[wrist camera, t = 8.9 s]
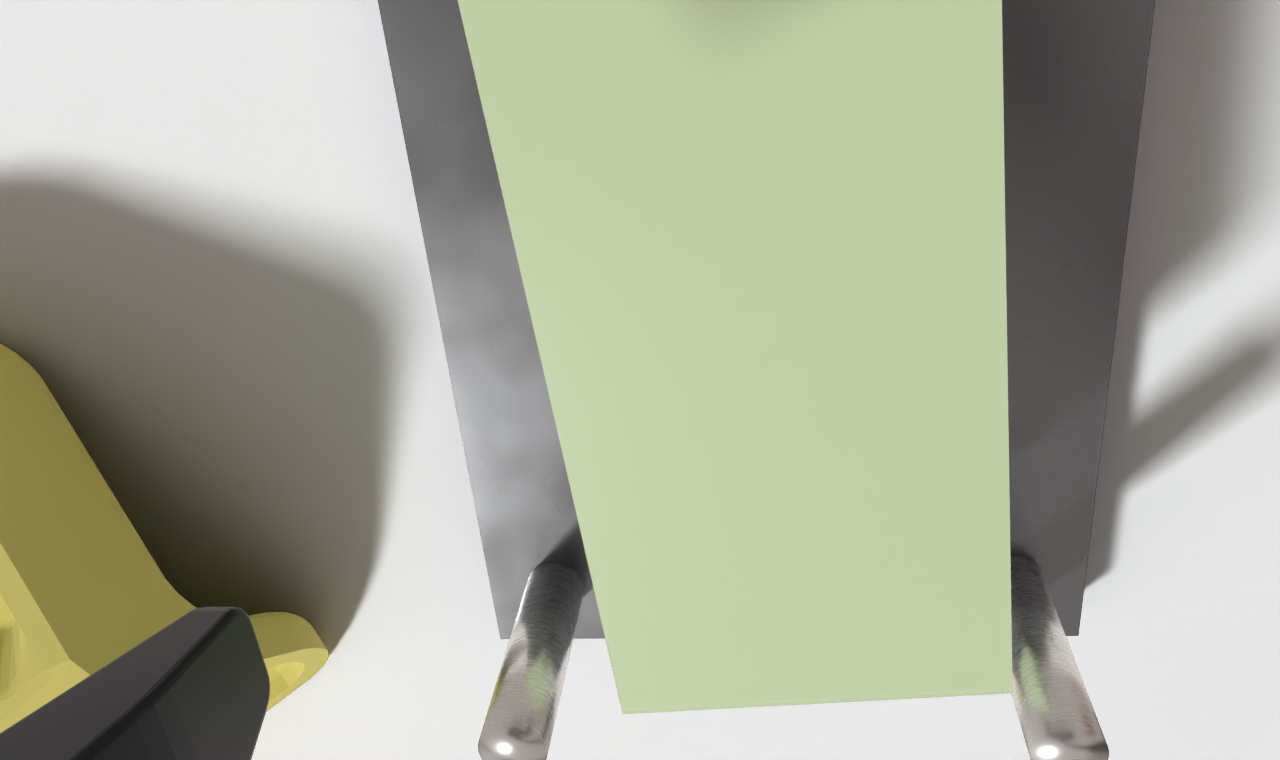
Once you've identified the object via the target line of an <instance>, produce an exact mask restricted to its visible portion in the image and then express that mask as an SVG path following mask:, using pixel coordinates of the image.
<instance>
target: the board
mask: <svg viewBox="0 0 1280 760" xmlns="http://www.w3.org/2000/svg"><path fill="white" fill-rule="evenodd" d="M458 4H459V9H460V13H461V17H462V22H463V26H464V30H465V35H466V39H467V43H468V48H469V52H470V56H471V61H472V65H473V69H474V73H475V78H476V82H477V86H478V91H479V95H480V99H481V104H482V108H483V112H484V117H485V121H486V125H487V130H488V134H489V138H490V143H491V147H492V151H493V156H494V160H495V164H496V169H497V173H498V177H499V182H500V186H501V190H502V194H503V199H504V203H505V207H506V212H507V216H508V220H509V225H510V229H511V233H512V238H513V242H514V246H515V251H516V255H517V259H518V264H519V268H520V272H521V277H522V281H523V285H524V290H525V294H526V298H527V303H528V307H529V311H530V315H531V320H532V324H533V328H534V333H535V337H536V341H537V346H538V350H539V354H540V359H541V363H542V367H543V372H544V376H545V380H546V385H547V389H548V393H549V398H550V402H551V406H552V411H553V415H554V419H555V424H556V428H557V432H558V437H559V441H560V445H561V449H562V454H563V458H564V462H565V467H566V471H567V475H568V480H569V484H570V488H571V493H572V497H573V501H574V506H575V510H576V514H577V519H578V523H579V527H580V532H581V536H582V540H583V545H584V549H585V553H586V558H587V562H588V566H589V570H590V575H591V579H592V583H593V588H594V592H595V596H596V601H597V605H598V609H599V614H600V618H601V622H602V627H603V631H604V635H605V640H606V644H607V648H608V653H609V657H610V661H611V666H612V670H613V674H614V679H615V683H616V687H617V691H618V696H619V700H620V704H621V709H622V713H623V714H632V713H651V712H670V711H688V710H707V709H725V708H744V707H763V706H781V705H800V704H818V703H837V702H855V701H874V700H893V699H911V698H930V697H948V696H967V695H985V694H1004V693H1013V684H1012V620H1011V555H1010V491H1009V426H1008V361H1007V297H1006V232H1005V168H1004V103H1003V39H1002V0H458Z"/></svg>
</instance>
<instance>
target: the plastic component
mask: <svg viewBox="0 0 1280 760" xmlns="http://www.w3.org/2000/svg"><path fill="white" fill-rule="evenodd" d="M196 608H197V607H195V606H193V605H192V604H191V603H189V602H188V601H187V600H186V599H185V598H183V597H182V596H181V595H180V594H178V593H177V591H176V590H175V589H174V588H173V587H172V586H171V584H170V583H169V582H168V581H167V580H166V579H165V577H164V575H163V574H162V572H161V571H160V569H159V567H158V566H157V564H156V562H155V561H154V559H153V558H152V556H151V554H150V553H149V551H148V549H147V548H146V546H145V545H144V543H143V541H142V540H141V538H140V536H139V535H138V533H137V532H136V530H135V528H134V527H133V525H132V523H131V522H130V520H129V519H128V517H127V515H126V514H125V512H124V510H123V509H122V507H121V506H120V504H119V502H118V501H117V499H116V497H115V496H114V494H113V493H112V491H111V489H110V488H109V486H108V484H107V483H106V481H105V480H104V478H103V476H102V475H101V473H100V471H99V470H98V468H97V467H96V465H95V463H94V462H93V460H92V458H91V457H90V455H89V454H88V452H87V450H86V449H85V447H84V445H83V444H82V442H81V441H80V439H79V437H78V436H77V434H76V432H75V431H74V429H73V428H72V426H71V424H70V423H69V421H68V419H67V418H66V416H65V415H64V413H63V411H62V410H61V408H60V406H59V405H58V403H57V402H56V400H55V398H54V397H53V395H52V393H51V392H50V390H49V389H48V387H47V385H46V384H45V382H44V380H43V379H42V378H41V376H40V375H39V374H38V372H37V371H36V370H35V369H34V368H33V367H32V366H31V365H30V364H29V363H28V362H27V361H25V360H24V359H23V358H22V357H21V356H19V355H18V354H17V353H16V352H15V351H13V350H11V349H9V348H8V347H6V346H4V345H2V344H0V733H1V732H3V731H4V730H6V729H7V728H9V727H11V726H12V725H14V724H15V723H17V722H18V721H20V720H21V719H23V718H25V717H26V716H28V715H29V714H31V713H32V712H34V711H36V710H37V709H39V708H40V707H42V706H43V705H45V704H46V703H48V702H50V701H51V700H53V699H54V698H56V697H57V696H59V695H60V694H62V693H64V692H65V691H67V690H68V689H70V688H71V687H73V686H75V685H76V684H78V683H79V682H81V681H82V680H84V679H85V678H87V677H89V676H90V675H92V674H93V673H95V672H96V671H98V670H99V669H101V668H103V667H104V666H106V665H107V664H109V663H110V662H112V661H114V660H115V659H117V658H118V657H120V656H121V655H123V654H124V653H126V652H128V651H129V650H131V649H132V648H134V647H135V646H137V645H139V644H140V643H142V642H143V641H145V640H146V639H148V638H149V637H151V636H153V635H154V634H156V633H157V632H159V631H160V630H162V629H163V628H165V627H167V626H168V625H170V624H171V623H173V622H174V621H176V620H178V619H179V618H181V617H182V616H184V615H185V614H187V613H188V612H190V611H192V610H194V609H196ZM249 618H250V620H251V622H252V625H253V628H254V632H255V635H256V638H257V641H258V644H259V647H260V650H261V653H262V656H263V659H264V662H265V665H266V668H267V671H268V675H269V680H270V696H269V702H268V706H267V710H266V711H268V710H269V709H270V708H272V707H273V706H274V705H276V704H277V703H278V702H280V701H281V700H282V699H284V698H285V697H286V696H288V695H289V694H290V693H292V692H293V691H294V690H296V689H297V688H298V687H300V686H301V685H302V684H304V683H305V682H306V681H308V680H309V679H310V678H312V677H313V676H314V675H315V674H316V673H317V672H318V671H319V670H320V669H321V668H322V667H323V666H324V664H325V662H326V661H327V659H328V657H329V654H328V650H327V648H326V647H325V645H324V644H323V642H322V641H321V639H320V637H319V636H318V634H317V633H316V631H315V630H314V628H313V627H312V625H311V624H310V623H309V622H308V621H307V620H306V619H304V618H302V617H300V616H298V615H296V614H292V613H288V612H266V613H260V614H255V615H250V616H249Z"/></svg>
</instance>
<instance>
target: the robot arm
mask: <svg viewBox="0 0 1280 760" xmlns="http://www.w3.org/2000/svg"><path fill="white" fill-rule="evenodd" d="M269 696H270V680H269V675H268V671H267V668H266V665H265V662H264V659H263V656H262V653H261V650H260V647H259V644H258V641H257V638H256V635H255V632H254V628H253V625H252V622H251V620H250V618H249V615H248V614H247V613H246V612H245V611H244V610H243V609H241V608H238V607H200V608H196V609H194V610H192V611H190V612H188V613H187V614H185V615H184V616H182V617H181V618H179V619H178V620H176V621H174V622H173V623H171V624H170V625H168V626H167V627H165V628H163V629H162V630H160V631H159V632H157V633H156V634H154V635H153V636H151V637H149V638H148V639H146V640H145V641H143V642H142V643H140V644H139V645H137V646H135V647H134V648H132V649H131V650H129V651H128V652H126V653H124V654H123V655H121V656H120V657H118V658H117V659H115V660H114V661H112V662H110V663H109V664H107V665H106V666H104V667H103V668H101V669H99V670H98V671H96V672H95V673H93V674H92V675H90V676H89V677H87V678H85V679H84V680H82V681H81V682H79V683H78V684H76V685H75V686H73V687H71V688H70V689H68V690H67V691H65V692H64V693H62V694H60V695H59V696H57V697H56V698H54V699H53V700H51V701H50V702H48V703H46V704H45V705H43V706H42V707H40V708H39V709H37V710H36V711H34V712H32V713H31V714H29V715H28V716H26V717H25V718H23V719H21V720H20V721H18V722H17V723H15V724H14V725H12V726H11V727H9V728H7V729H6V730H4V731H3V732H1V733H0V760H251V758H252V755H253V752H254V749H255V745H256V742H257V739H258V736H259V732H260V729H261V726H262V723H263V719H264V716H265V713H266V710H267V706H268V702H269Z"/></svg>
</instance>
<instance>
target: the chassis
mask: <svg viewBox="0 0 1280 760" xmlns="http://www.w3.org/2000/svg"><path fill="white" fill-rule="evenodd" d="M378 4H379V9H380V14H381V19H382V25H383V30H384V35H385V40H386V45H387V51H388V56H389V61H390V66H391V71H392V77H393V82H394V87H395V92H396V97H397V103H398V108H399V113H400V118H401V123H402V129H403V134H404V139H405V144H406V149H407V155H408V160H409V165H410V170H411V175H412V181H413V186H414V191H415V196H416V201H417V207H418V212H419V217H420V222H421V227H422V233H423V238H424V243H425V248H426V253H427V259H428V264H429V269H430V274H431V279H432V285H433V290H434V295H435V300H436V305H437V311H438V316H439V321H440V326H441V331H442V337H443V342H444V347H445V352H446V357H447V363H448V368H449V373H450V378H451V383H452V389H453V394H454V399H455V404H456V409H457V415H458V420H459V425H460V430H461V435H462V441H463V446H464V451H465V456H466V461H467V467H468V472H469V477H470V482H471V487H472V493H473V498H474V503H475V508H476V513H477V519H478V524H479V529H480V534H481V539H482V545H483V550H484V555H485V560H486V565H487V571H488V576H489V581H490V586H491V591H492V597H493V602H494V607H495V612H496V617H497V623H498V628H499V633H500V638H501V639H510V640H509V644H508V647H507V650H506V653H505V657H504V660H503V663H502V667H501V670H500V673H499V677H498V680H497V683H496V686H495V690H494V693H493V696H492V700H491V703H490V706H489V709H488V713H487V716H486V719H485V723H484V726H483V729H482V733H481V736H480V739H479V743H478V751H479V754H480V756H481V758H482V760H546V758H547V754H548V749H549V745H550V740H551V736H552V731H553V727H554V723H555V718H556V714H557V709H558V705H559V700H560V696H561V692H562V687H563V683H564V678H565V674H566V669H567V665H568V661H569V656H570V652H571V647H572V643H573V639H579V638H605V635H604V631H603V627H602V622H601V618H600V614H599V609H598V605H597V601H596V596H595V592H594V588H593V583H592V579H591V575H590V570H589V566H588V562H587V558H586V553H585V549H584V545H583V540H582V536H581V532H580V527H579V523H578V519H577V514H576V510H575V506H574V501H573V497H572V493H571V488H570V484H569V480H568V475H567V471H566V467H565V462H564V458H563V454H562V449H561V445H560V441H559V437H558V432H557V428H556V424H555V419H554V415H553V411H552V406H551V402H550V398H549V393H548V389H547V385H546V380H545V376H544V372H543V367H542V363H541V359H540V354H539V350H538V346H537V341H536V337H535V333H534V328H533V324H532V320H531V315H530V311H529V307H528V303H527V298H526V294H525V290H524V285H523V281H522V277H521V272H520V268H519V264H518V259H517V255H516V251H515V246H514V242H513V238H512V233H511V229H510V225H509V220H508V216H507V212H506V207H505V203H504V199H503V194H502V190H501V186H500V182H499V177H498V173H497V169H496V164H495V160H494V156H493V151H492V147H491V143H490V138H489V134H488V130H487V125H486V121H485V117H484V112H483V108H482V104H481V99H480V95H479V91H478V86H477V82H476V78H475V73H474V69H473V65H472V61H471V56H470V52H469V48H468V43H467V39H466V35H465V30H464V26H463V22H462V17H461V13H460V9H459V4H458V0H378ZM1154 6H1155V0H1002V39H1003V103H1004V168H1005V232H1006V297H1007V361H1008V426H1009V491H1010V555H1011V620H1012V684H1013V693H1012V697H1013V700H1014V704H1015V707H1016V710H1017V714H1018V717H1019V721H1020V724H1021V728H1022V731H1023V734H1024V738H1025V741H1026V745H1027V748H1028V752H1029V755H1030V758H1031V760H1108V757H1109V750H1108V746H1107V744H1106V741H1105V738H1104V736H1103V733H1102V730H1101V728H1100V725H1099V722H1098V720H1097V717H1096V715H1095V712H1094V709H1093V707H1092V704H1091V701H1090V699H1089V696H1088V693H1087V691H1086V688H1085V685H1084V683H1083V680H1082V678H1081V675H1080V672H1079V670H1078V667H1077V664H1076V662H1075V659H1074V656H1073V654H1072V651H1071V649H1070V646H1069V643H1068V641H1067V638H1066V636H1078V634H1079V626H1080V618H1081V609H1082V601H1083V593H1084V585H1085V576H1086V568H1087V560H1088V551H1089V543H1090V535H1091V527H1092V518H1093V510H1094V502H1095V494H1096V485H1097V477H1098V469H1099V460H1100V452H1101V444H1102V436H1103V427H1104V419H1105V411H1106V403H1107V394H1108V386H1109V378H1110V369H1111V361H1112V353H1113V345H1114V336H1115V328H1116V320H1117V312H1118V303H1119V295H1120V287H1121V279H1122V270H1123V262H1124V254H1125V245H1126V237H1127V229H1128V221H1129V212H1130V204H1131V196H1132V188H1133V179H1134V171H1135V163H1136V154H1137V146H1138V138H1139V130H1140V121H1141V113H1142V105H1143V97H1144V88H1145V80H1146V72H1147V63H1148V55H1149V47H1150V39H1151V30H1152V22H1153V14H1154Z"/></svg>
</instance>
